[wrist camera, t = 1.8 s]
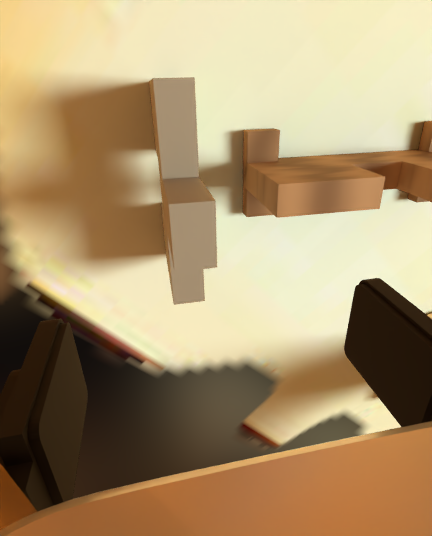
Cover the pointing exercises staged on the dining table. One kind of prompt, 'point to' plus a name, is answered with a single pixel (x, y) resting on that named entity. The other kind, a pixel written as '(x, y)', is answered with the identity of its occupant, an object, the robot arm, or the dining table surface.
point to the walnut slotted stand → (329, 177)
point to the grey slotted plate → (182, 189)
